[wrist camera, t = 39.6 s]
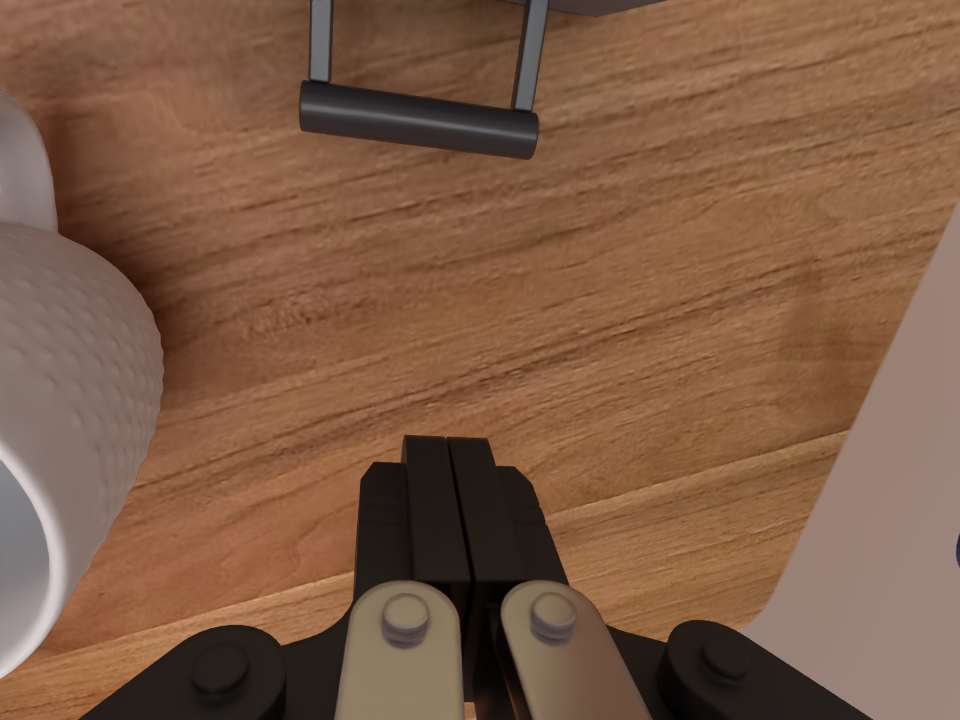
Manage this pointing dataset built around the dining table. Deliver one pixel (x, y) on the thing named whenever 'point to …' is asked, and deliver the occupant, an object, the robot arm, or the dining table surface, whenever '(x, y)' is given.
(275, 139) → the dining table surface
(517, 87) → the drawer
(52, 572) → the mug
